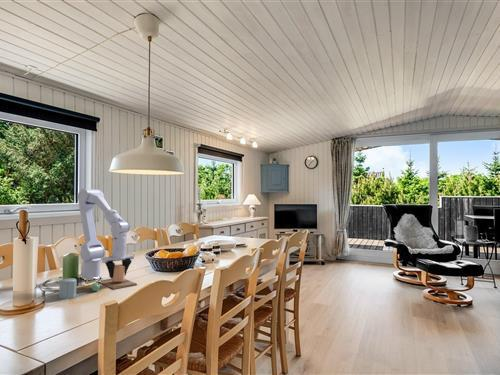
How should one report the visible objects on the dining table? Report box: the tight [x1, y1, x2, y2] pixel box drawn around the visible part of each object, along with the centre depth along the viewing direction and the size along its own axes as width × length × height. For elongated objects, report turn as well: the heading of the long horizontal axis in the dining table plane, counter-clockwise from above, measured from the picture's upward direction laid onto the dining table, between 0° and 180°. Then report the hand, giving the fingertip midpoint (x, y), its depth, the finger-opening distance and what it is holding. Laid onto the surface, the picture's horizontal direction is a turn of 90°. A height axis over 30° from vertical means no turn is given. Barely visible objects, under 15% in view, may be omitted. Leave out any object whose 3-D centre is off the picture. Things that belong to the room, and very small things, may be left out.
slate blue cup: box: [58, 277, 78, 300], centre depth 126 cm, size 6×6×7 cm
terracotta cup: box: [110, 263, 126, 282], centre depth 146 cm, size 6×6×7 cm
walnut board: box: [99, 278, 138, 291], centre depth 146 cm, size 16×11×1 cm
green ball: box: [91, 283, 101, 292], centre depth 134 cm, size 3×3×3 cm
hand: (117, 276), depth 146 cm, fingers closed on terracotta cup, 5 cm apart
